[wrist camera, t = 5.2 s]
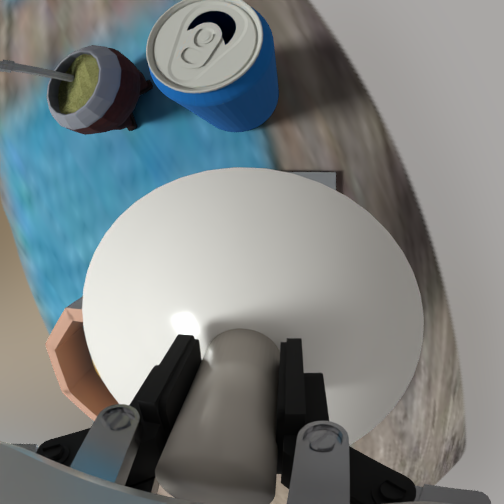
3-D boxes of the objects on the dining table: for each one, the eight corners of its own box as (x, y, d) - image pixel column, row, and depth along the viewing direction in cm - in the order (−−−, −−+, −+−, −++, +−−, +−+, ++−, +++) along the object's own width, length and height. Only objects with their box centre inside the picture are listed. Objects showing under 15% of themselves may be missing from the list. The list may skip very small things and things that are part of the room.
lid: (70, 182, 12) (-62, 207, 5) (433, 172, 10) (568, 189, 3) (129, 439, 15) (83, 524, 9) (381, 451, 14) (403, 552, 7)
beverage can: (293, 82, 23) (298, 13, 11) (253, 147, 24) (225, 125, 13) (225, 49, 23) (183, -25, 11) (186, 112, 24) (115, 74, 13)
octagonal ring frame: (65, 284, 29) (33, 303, 24) (193, 291, 28) (173, 317, 23) (95, 395, 33) (74, 421, 28) (208, 414, 31) (196, 449, 26)
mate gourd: (169, 114, 24) (56, 67, 10) (98, 156, 26) (-31, 158, 11) (143, 49, 23) (41, -22, 9) (77, 92, 24) (-40, 64, 10)
